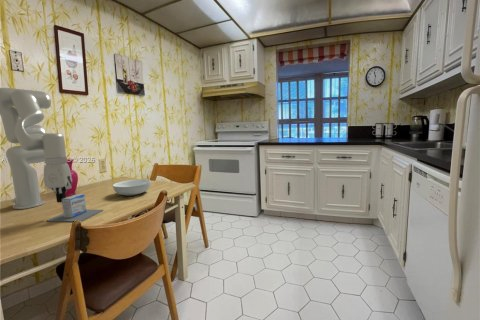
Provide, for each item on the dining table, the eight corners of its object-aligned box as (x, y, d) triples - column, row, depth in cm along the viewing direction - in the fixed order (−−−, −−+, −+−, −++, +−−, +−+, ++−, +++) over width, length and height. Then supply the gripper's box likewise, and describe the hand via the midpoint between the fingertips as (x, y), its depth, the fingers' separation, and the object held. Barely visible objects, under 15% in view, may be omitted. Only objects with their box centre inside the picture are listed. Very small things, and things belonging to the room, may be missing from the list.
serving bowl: (155, 188, 154) (154, 178, 153) (144, 197, 133) (143, 186, 132) (122, 190, 152) (121, 179, 151) (106, 199, 132) (105, 187, 131)
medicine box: (72, 218, 103) (70, 198, 102) (63, 217, 103) (61, 198, 102) (86, 211, 110) (84, 193, 109) (78, 211, 111) (76, 193, 110)
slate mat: (46, 221, 101) (46, 220, 101) (73, 210, 115) (73, 209, 115) (80, 222, 99) (80, 221, 99) (103, 210, 113) (103, 209, 113)
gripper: (33, 162, 102) (39, 204, 104) (64, 162, 100) (69, 204, 102) (49, 160, 109) (54, 199, 111) (78, 160, 107) (83, 199, 110)
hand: (61, 201), depth 107 cm, fingers closed
